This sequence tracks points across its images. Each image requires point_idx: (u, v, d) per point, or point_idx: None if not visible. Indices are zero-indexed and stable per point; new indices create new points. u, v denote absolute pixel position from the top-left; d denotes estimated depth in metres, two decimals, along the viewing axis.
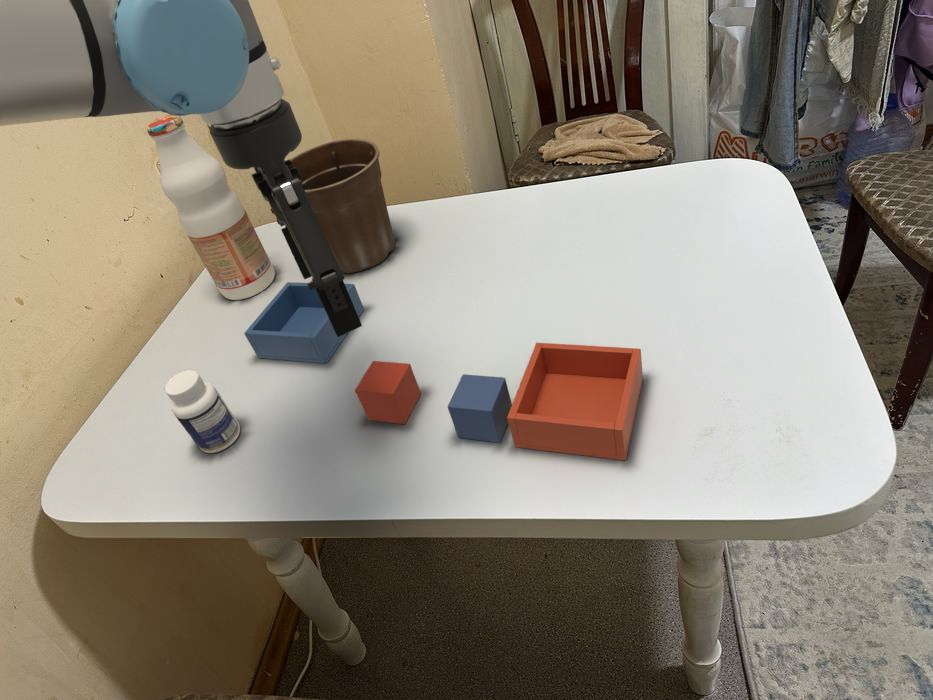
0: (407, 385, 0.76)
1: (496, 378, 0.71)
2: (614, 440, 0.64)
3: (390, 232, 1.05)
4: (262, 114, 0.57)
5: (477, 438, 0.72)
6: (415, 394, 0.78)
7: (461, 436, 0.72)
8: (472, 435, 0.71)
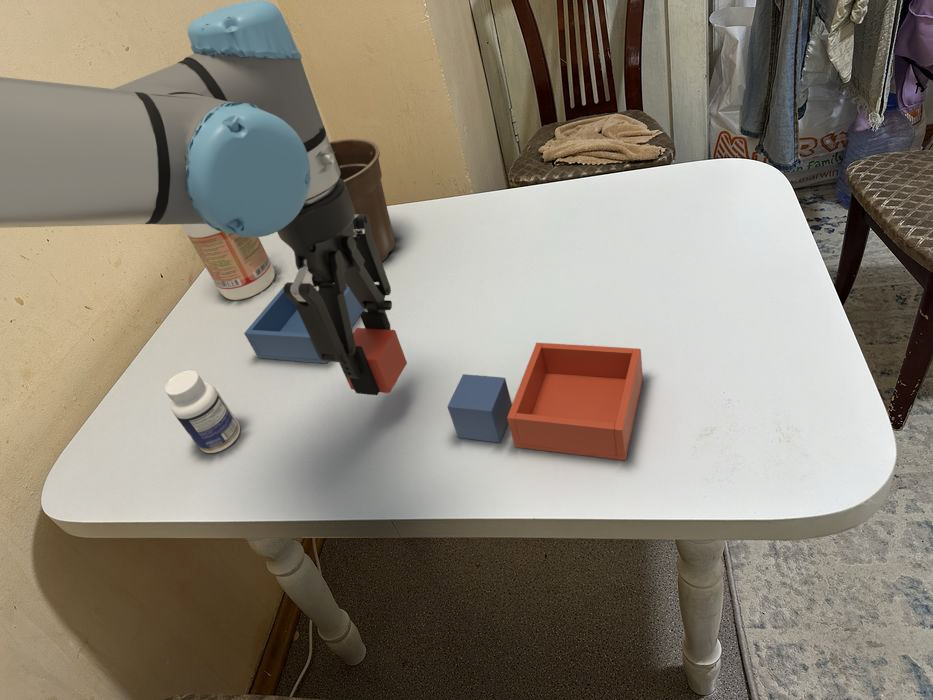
0: (391, 353, 0.72)
1: (496, 378, 0.71)
2: (614, 440, 0.64)
3: (390, 232, 1.05)
4: None
5: (477, 438, 0.72)
6: (400, 363, 0.74)
7: (461, 436, 0.72)
8: (472, 435, 0.71)
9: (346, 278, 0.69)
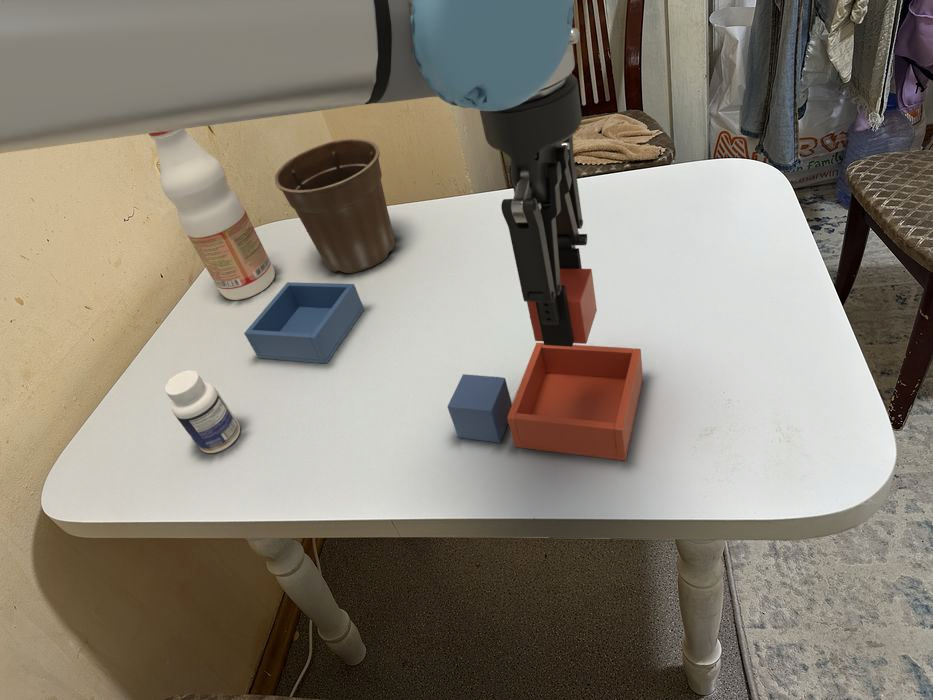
0: (589, 295, 0.61)
1: (496, 378, 0.71)
2: (614, 440, 0.64)
3: (390, 232, 1.05)
4: None
5: (477, 438, 0.72)
6: (593, 309, 0.63)
7: (461, 436, 0.72)
8: (472, 435, 0.71)
9: (544, 204, 0.58)
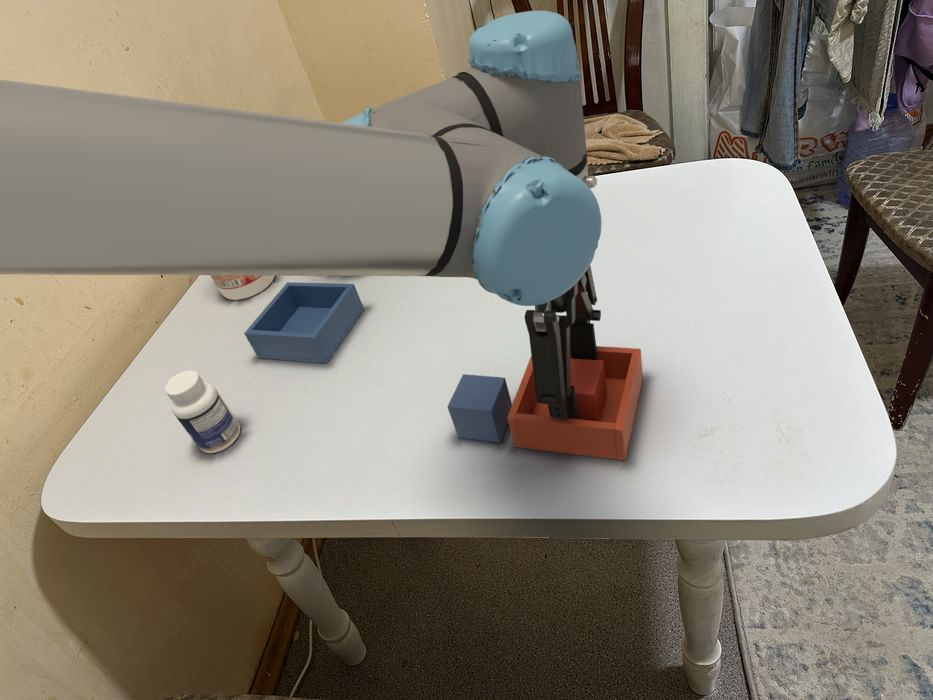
0: (601, 385, 0.68)
1: (496, 378, 0.71)
2: (614, 440, 0.64)
3: None
4: None
5: (477, 438, 0.72)
6: (604, 394, 0.70)
7: (461, 436, 0.72)
8: (472, 435, 0.71)
9: None
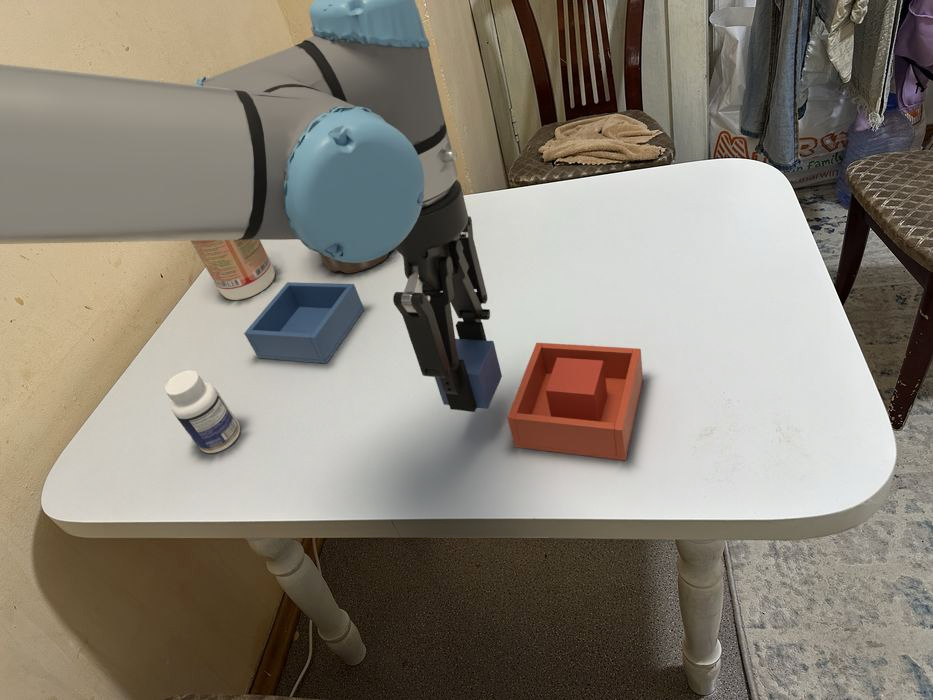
0: (601, 385, 0.68)
1: (484, 341, 0.68)
2: (614, 440, 0.64)
3: None
4: None
5: None
6: (604, 394, 0.70)
7: (447, 403, 0.69)
8: None
9: None
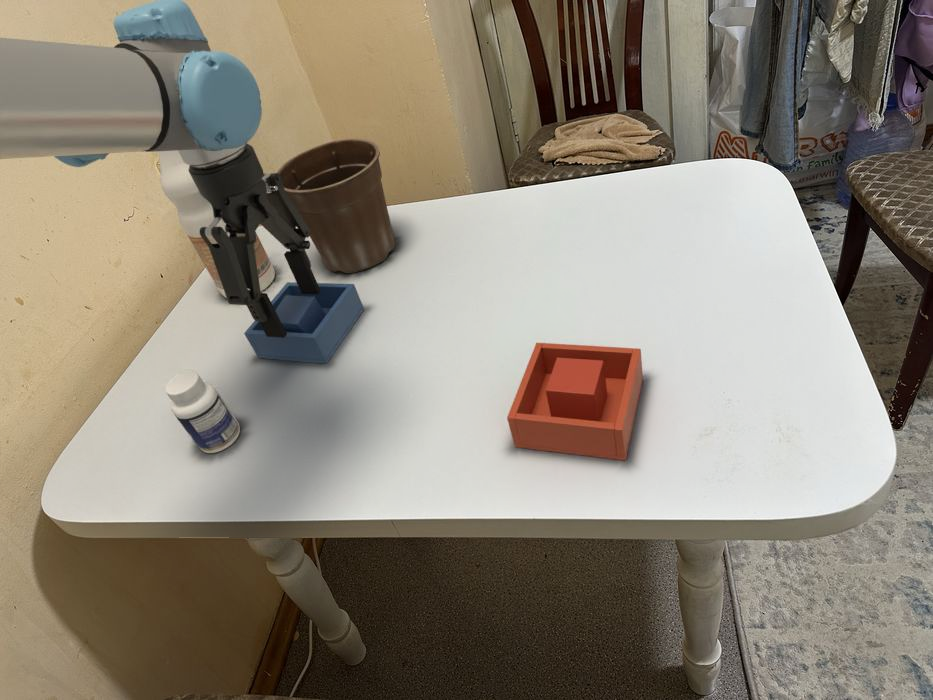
0: (601, 385, 0.68)
1: (308, 297, 0.90)
2: (614, 440, 0.64)
3: (390, 232, 1.05)
4: (208, 165, 0.71)
5: None
6: (604, 394, 0.70)
7: None
8: None
9: (266, 227, 0.83)
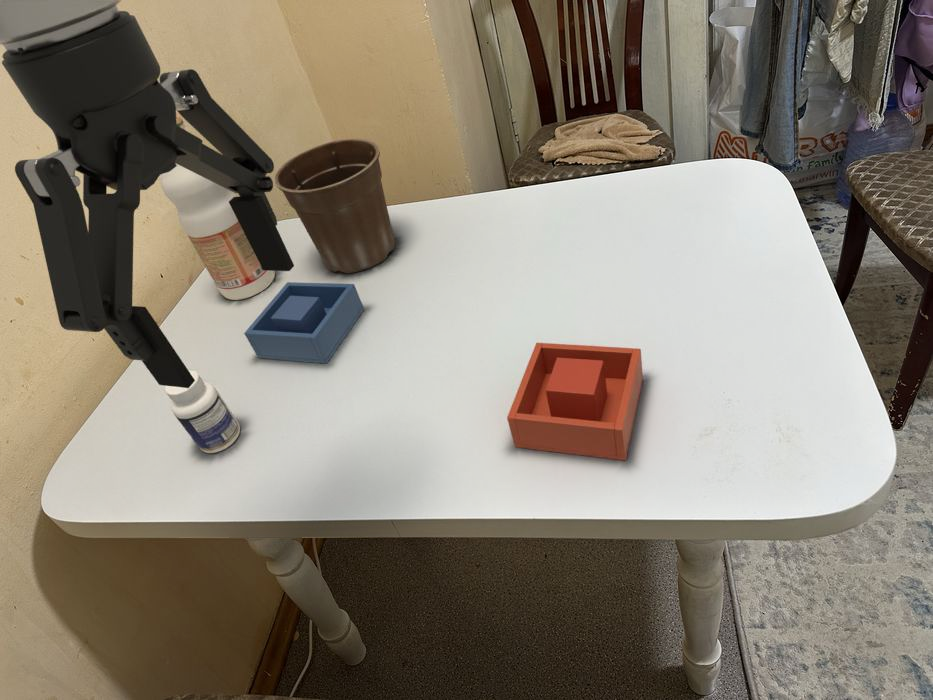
0: (601, 385, 0.68)
1: (312, 297, 0.91)
2: (614, 440, 0.64)
3: (390, 232, 1.05)
4: (31, 42, 0.34)
5: None
6: (604, 394, 0.70)
7: None
8: None
9: (188, 167, 0.46)
